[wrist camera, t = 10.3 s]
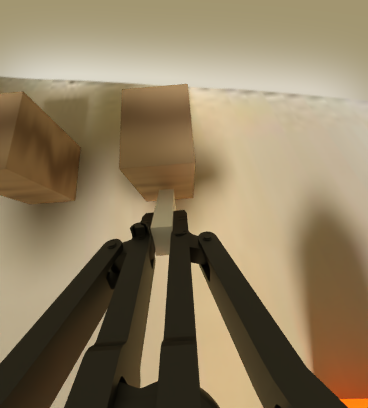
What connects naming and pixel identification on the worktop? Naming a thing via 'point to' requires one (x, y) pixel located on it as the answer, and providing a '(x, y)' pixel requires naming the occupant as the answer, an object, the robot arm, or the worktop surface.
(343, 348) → the worktop surface
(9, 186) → the brown wooden block
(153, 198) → the brown wooden block
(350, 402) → the orange juice
